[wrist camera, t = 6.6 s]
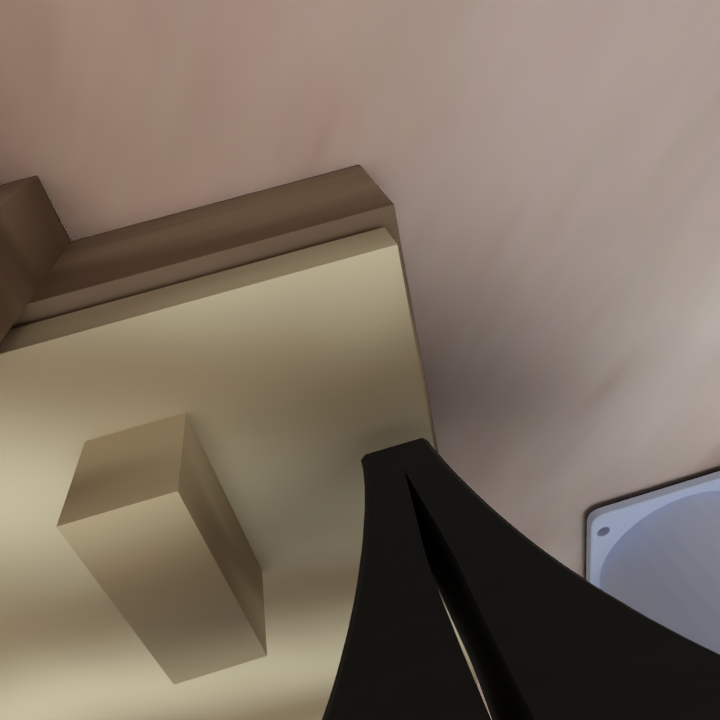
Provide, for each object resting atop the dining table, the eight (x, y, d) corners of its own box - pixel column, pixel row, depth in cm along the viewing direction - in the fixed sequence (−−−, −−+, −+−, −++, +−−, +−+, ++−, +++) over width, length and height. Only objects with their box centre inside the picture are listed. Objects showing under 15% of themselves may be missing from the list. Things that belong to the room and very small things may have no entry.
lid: (466, 654, 19) (504, 758, 17) (-46, 817, 18) (-92, 954, 16) (384, 227, 11) (434, 295, 8) (-556, 484, 10) (-837, 653, 7)
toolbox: (441, 567, 23) (500, 722, 18) (-9, 706, 22) (-80, 911, 17) (345, 95, 13) (414, 143, 8) (-463, 305, 12) (-932, 503, 7)
